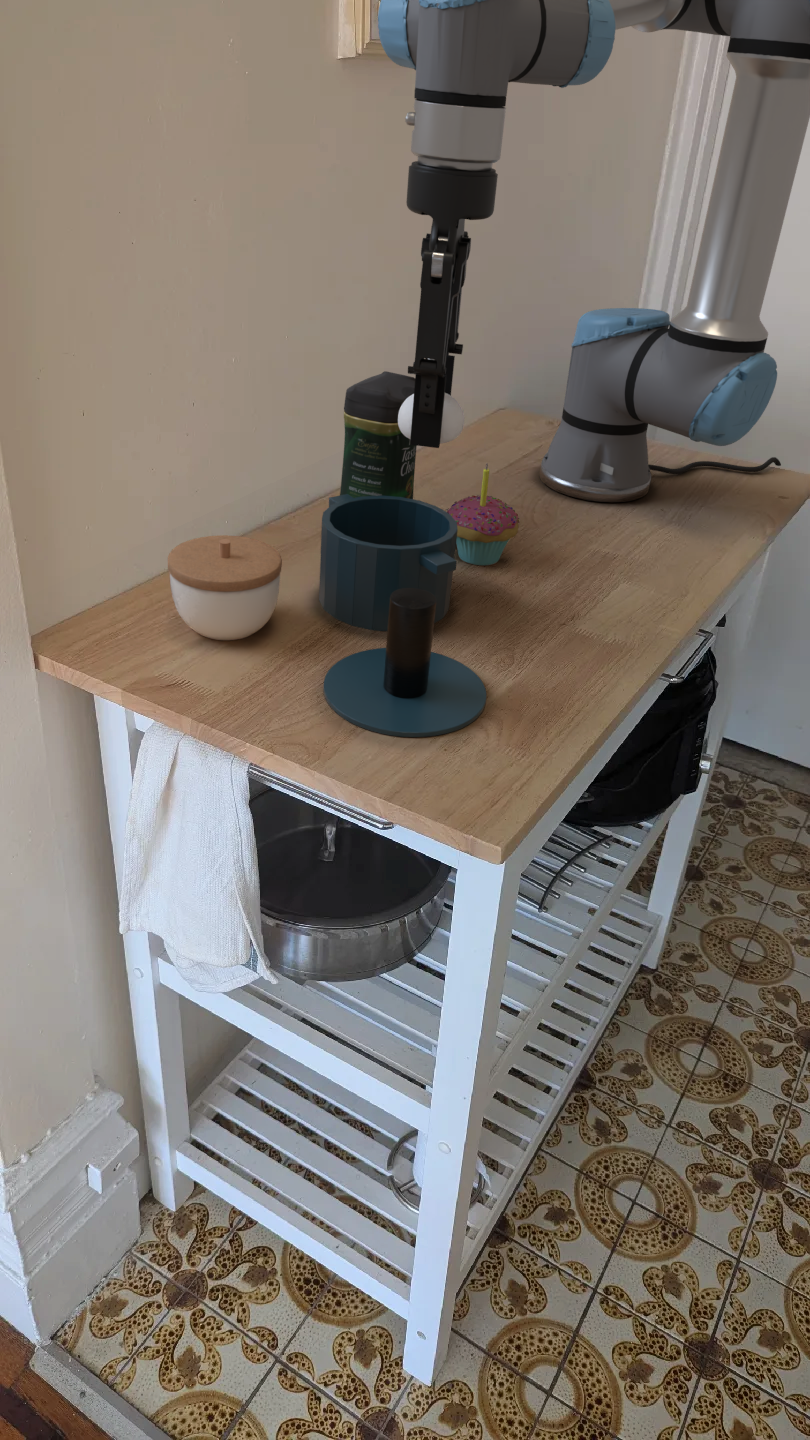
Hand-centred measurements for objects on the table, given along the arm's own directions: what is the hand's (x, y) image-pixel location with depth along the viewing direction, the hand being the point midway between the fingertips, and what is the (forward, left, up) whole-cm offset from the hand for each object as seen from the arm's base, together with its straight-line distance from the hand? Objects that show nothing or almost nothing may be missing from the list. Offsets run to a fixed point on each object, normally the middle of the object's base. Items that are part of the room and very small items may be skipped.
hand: (429, 433), depth 101 cm
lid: (+11, +14, -18) cm, 25 cm away
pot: (+2, -2, -19) cm, 19 cm away
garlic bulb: (0, 0, -1) cm, 1 cm away
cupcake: (-15, -7, -19) cm, 25 cm away
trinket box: (+19, -5, -19) cm, 28 cm away
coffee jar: (-8, -18, -19) cm, 28 cm away
